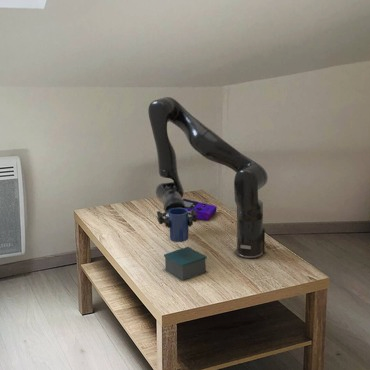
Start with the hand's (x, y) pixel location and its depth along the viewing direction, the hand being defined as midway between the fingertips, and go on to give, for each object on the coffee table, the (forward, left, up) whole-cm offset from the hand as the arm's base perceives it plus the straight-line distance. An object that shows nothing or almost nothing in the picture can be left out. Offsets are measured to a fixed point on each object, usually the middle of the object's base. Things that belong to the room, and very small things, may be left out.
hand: (179, 224), depth 236 cm
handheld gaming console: (-37, -39, -18) cm, 56 cm away
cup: (-1, -2, -6) cm, 6 cm away
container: (-2, 0, -18) cm, 18 cm away
